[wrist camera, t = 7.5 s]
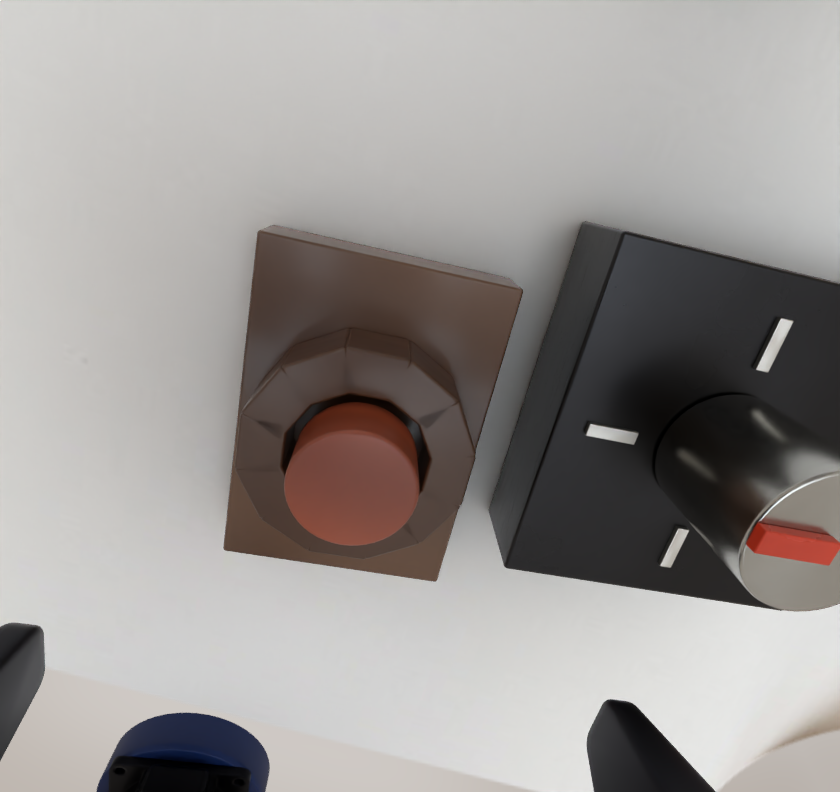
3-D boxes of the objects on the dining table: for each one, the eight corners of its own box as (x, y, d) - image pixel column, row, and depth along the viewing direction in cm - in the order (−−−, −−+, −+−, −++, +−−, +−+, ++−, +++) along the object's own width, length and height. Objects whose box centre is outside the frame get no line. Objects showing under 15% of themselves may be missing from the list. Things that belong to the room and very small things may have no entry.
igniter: (433, 549, 19) (441, 624, 16) (237, 519, 18) (203, 592, 15) (511, 278, 16) (542, 304, 12) (271, 224, 15) (237, 237, 12)
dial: (807, 407, 14) (966, 496, 10) (747, 517, 16) (868, 633, 12) (685, 381, 14) (802, 463, 10) (634, 497, 15) (720, 611, 11)
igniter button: (402, 514, 15) (404, 555, 13) (288, 496, 15) (275, 536, 13) (428, 413, 14) (433, 444, 12) (305, 389, 13) (292, 419, 12)
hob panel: (730, 551, 20) (787, 616, 17) (487, 511, 19) (504, 572, 16) (871, 291, 16) (976, 316, 13) (581, 220, 15) (626, 231, 12)
